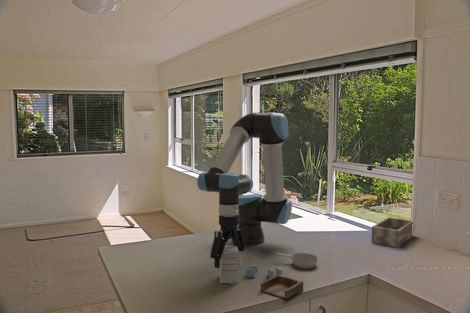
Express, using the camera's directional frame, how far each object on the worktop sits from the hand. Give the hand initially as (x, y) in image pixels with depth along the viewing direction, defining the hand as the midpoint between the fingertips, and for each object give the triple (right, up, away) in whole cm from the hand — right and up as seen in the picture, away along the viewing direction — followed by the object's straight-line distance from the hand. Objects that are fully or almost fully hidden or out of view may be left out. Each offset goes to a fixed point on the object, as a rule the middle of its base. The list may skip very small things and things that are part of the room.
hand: (228, 271), depth 158 cm
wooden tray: (+20, -5, -9) cm, 22 cm away
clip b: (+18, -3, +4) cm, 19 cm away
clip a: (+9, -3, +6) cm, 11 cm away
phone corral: (+84, +1, +56) cm, 101 cm away
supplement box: (0, -4, 0) cm, 4 cm away
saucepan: (+29, -2, +19) cm, 34 cm away
